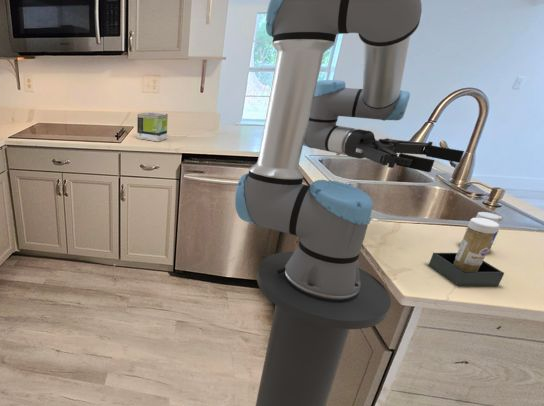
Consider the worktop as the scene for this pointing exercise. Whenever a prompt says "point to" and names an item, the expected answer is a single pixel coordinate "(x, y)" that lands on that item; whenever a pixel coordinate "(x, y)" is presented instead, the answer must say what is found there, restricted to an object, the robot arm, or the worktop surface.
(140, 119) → the tea box
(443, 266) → the dark gray tray
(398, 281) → the worktop surface
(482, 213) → the pill bottle
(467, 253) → the sprinkles bottle
